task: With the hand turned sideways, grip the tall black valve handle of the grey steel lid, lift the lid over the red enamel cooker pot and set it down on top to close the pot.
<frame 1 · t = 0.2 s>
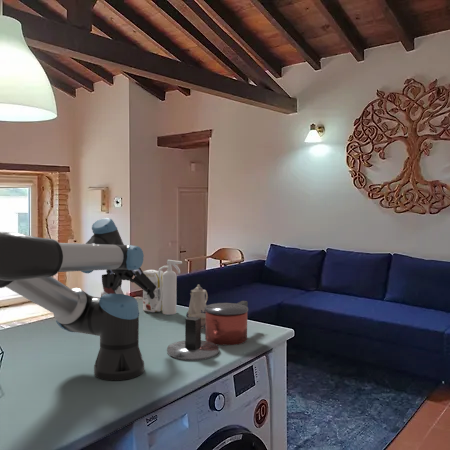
hand: (138, 302, 177), 15 cm above the countertop, tool tilted 35°, fingers open, 13 cm apart
lid: (193, 352, 167), on the countertop
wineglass: (112, 321, 206), on the countertop
chinaware: (204, 322, 206), on the countertop
fire extinguisher: (167, 313, 221), on the countertop
supplement bottle: (108, 313, 220), on the countertop
juice carton: (152, 310, 226), on the countertop
pot: (226, 338, 182), on the countertop
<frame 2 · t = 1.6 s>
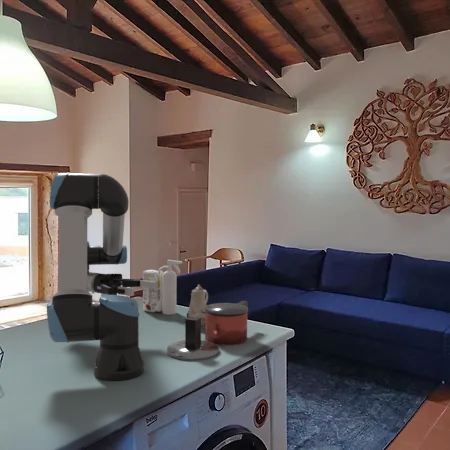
hand: (144, 288, 174), 20 cm above the countertop, tool horizontal, fingers open, 13 cm apart
nothing on the countertop moved.
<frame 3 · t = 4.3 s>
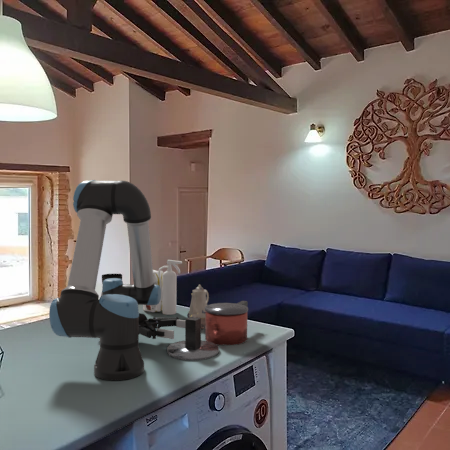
hand: (183, 329, 169), 7 cm above the countertop, tool horizontal, fingers open, 13 cm apart
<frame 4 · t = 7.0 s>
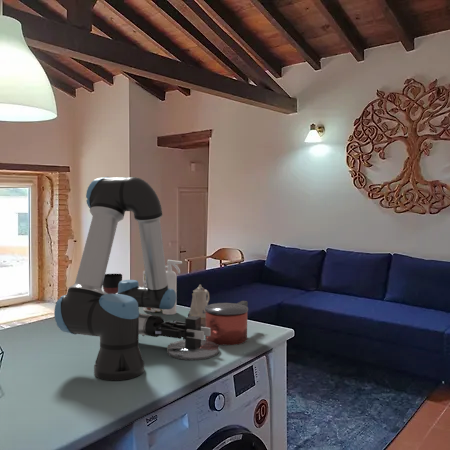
hand: (206, 333, 164), 7 cm above the countertop, tool horizontal, fingers closed on lid, 4 cm apart
lid: (192, 351, 167), on the countertop, touching gripper
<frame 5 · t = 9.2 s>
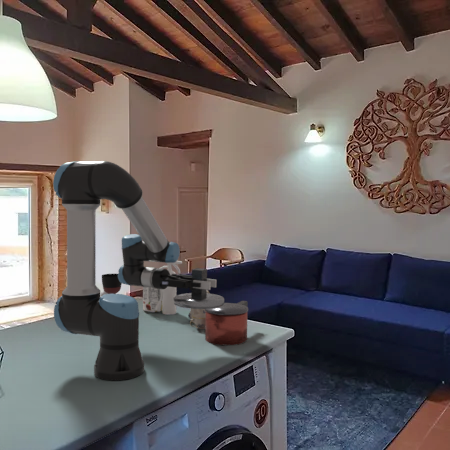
hand: (212, 284, 167), 23 cm above the countertop, tool horizontal, fingers closed on lid, 4 cm apart
lid: (198, 302, 169), point 17 cm above the countertop, touching gripper
when the fingers open (21 cm above the countertop, at t = 11.5 s): lid drops 1 cm, resting on pot.
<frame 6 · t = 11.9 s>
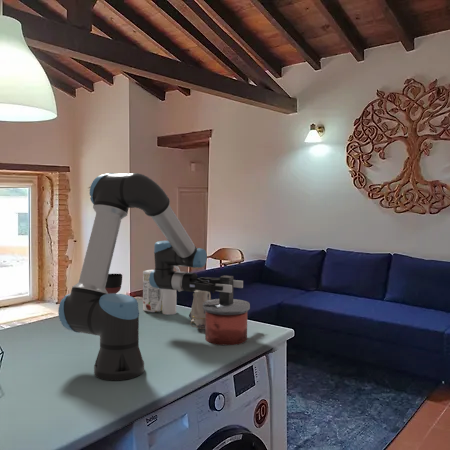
hand: (237, 286, 179), 21 cm above the countertop, tool horizontal, fingers open, 9 cm apart
lid: (226, 307, 181), point 12 cm above the countertop, touching pot
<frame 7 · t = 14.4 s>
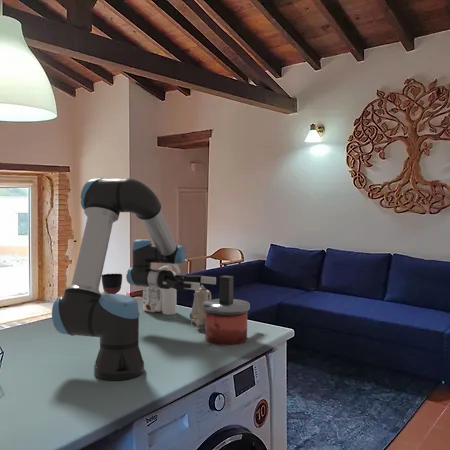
hand: (207, 283, 184), 21 cm above the countertop, tool horizontal, fingers open, 13 cm apart
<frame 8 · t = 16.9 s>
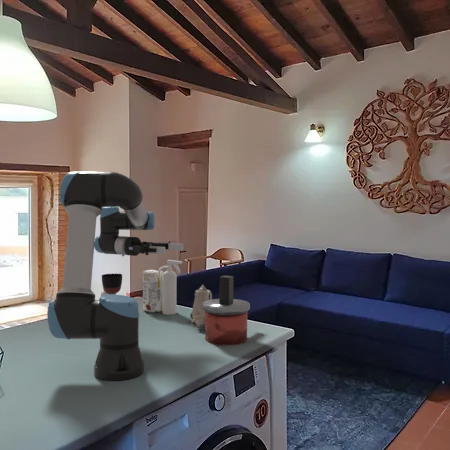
hand: (174, 248, 183), 34 cm above the countertop, tool horizontal, fingers open, 13 cm apart
at the end: lid 0.1 cm off-centre on the pot, point 12.0 cm above the pot's base; lid tilted 0°; the gripper is holding nothing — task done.
